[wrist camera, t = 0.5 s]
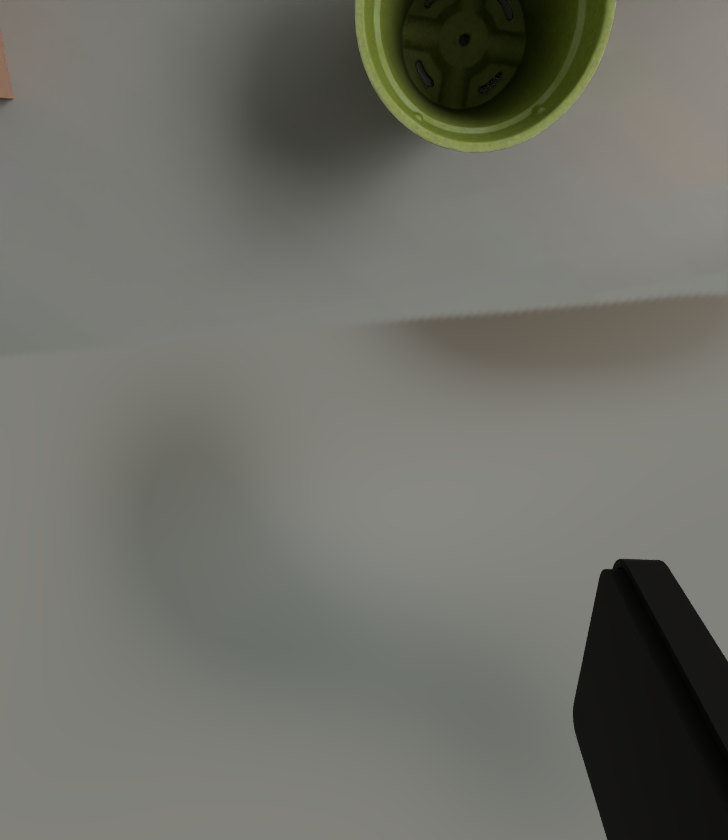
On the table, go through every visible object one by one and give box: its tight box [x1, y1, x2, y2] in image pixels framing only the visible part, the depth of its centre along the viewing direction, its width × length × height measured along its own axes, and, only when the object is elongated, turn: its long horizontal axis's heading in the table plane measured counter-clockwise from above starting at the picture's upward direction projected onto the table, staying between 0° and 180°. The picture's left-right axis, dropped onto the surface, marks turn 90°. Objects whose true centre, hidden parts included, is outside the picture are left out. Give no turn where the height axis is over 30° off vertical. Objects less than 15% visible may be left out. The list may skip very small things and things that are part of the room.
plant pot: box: [355, 0, 616, 152], centre depth 26 cm, size 9×9×9 cm
